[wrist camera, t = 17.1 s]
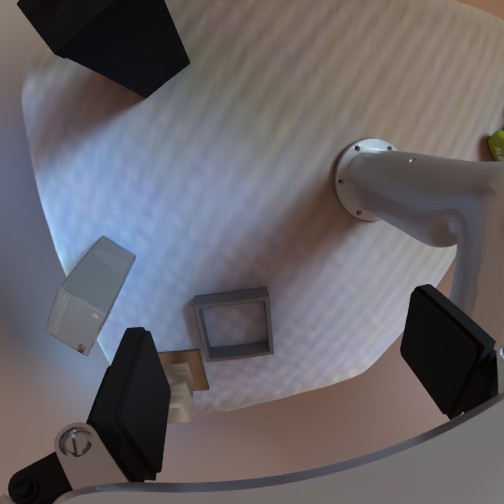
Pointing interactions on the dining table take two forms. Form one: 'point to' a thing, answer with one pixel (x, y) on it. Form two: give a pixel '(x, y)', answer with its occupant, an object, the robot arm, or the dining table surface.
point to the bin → (232, 299)
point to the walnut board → (193, 361)
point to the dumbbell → (497, 145)
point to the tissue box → (112, 38)
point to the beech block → (179, 392)
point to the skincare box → (89, 295)
